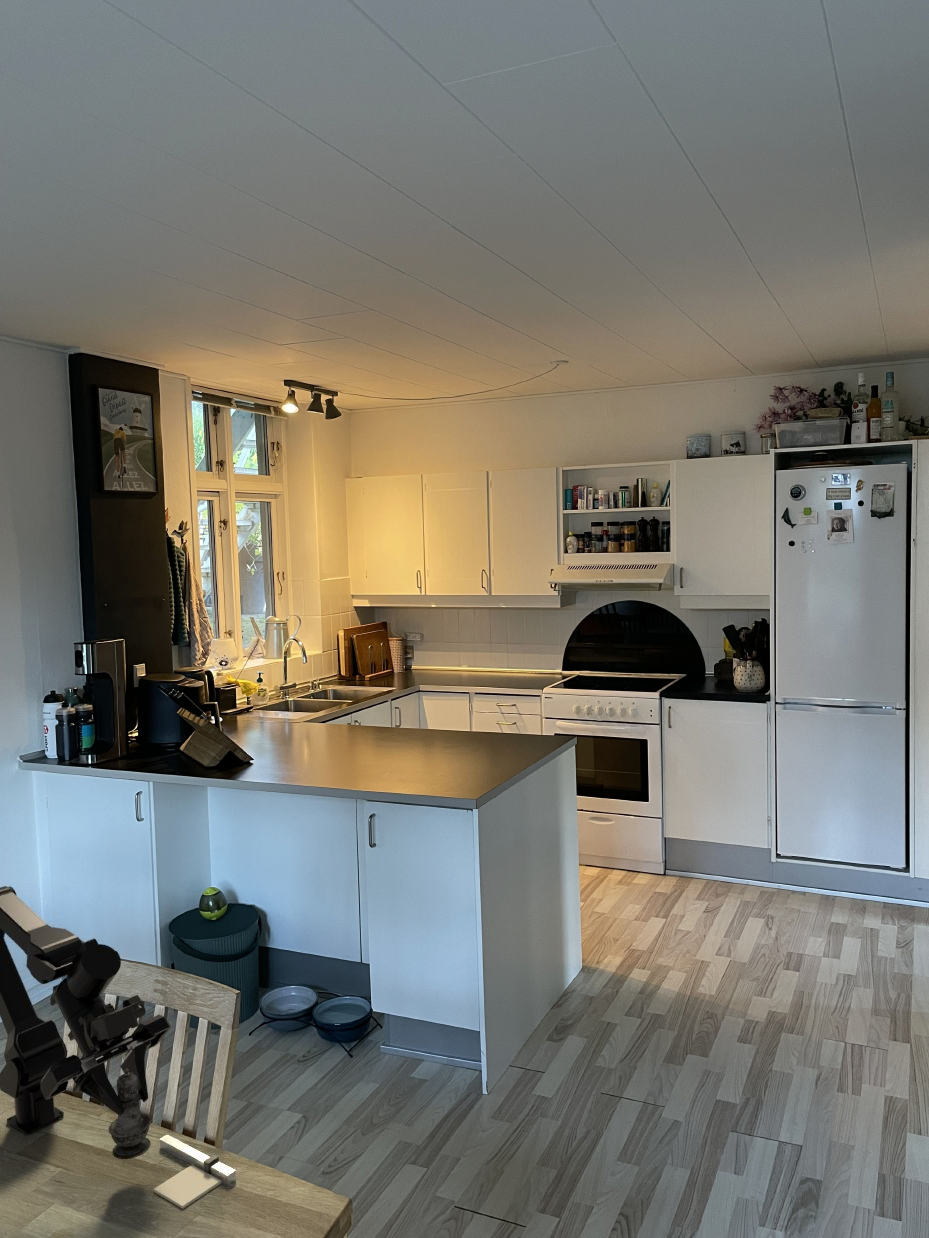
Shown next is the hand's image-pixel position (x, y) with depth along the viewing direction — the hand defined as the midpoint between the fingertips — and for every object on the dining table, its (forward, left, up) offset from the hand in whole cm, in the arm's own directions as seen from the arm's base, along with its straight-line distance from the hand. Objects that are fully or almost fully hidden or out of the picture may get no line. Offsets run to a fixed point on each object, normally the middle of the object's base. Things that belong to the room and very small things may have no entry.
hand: (134, 1106), depth 141 cm
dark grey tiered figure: (-1, 0, -7) cm, 7 cm away
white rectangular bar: (+4, +7, -11) cm, 14 cm away
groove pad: (+7, +3, -11) cm, 14 cm away
